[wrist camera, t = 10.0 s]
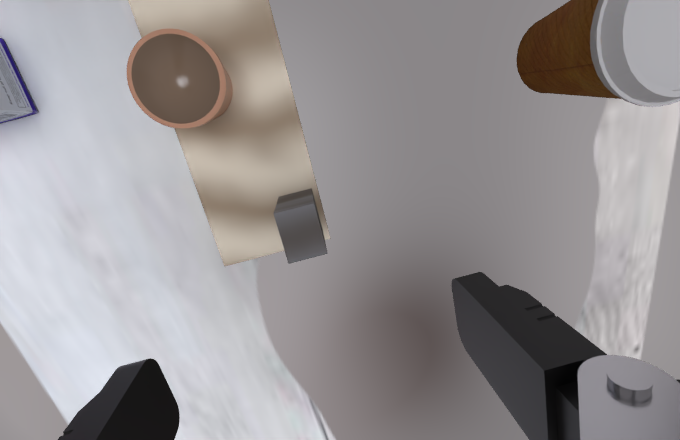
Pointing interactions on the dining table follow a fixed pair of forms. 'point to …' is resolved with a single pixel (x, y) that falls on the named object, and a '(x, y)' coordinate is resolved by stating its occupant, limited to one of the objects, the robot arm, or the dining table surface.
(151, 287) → the dining table surface
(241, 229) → the birch board
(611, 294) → the dining table surface
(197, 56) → the terracotta pot
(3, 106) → the supplement box
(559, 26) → the disposable coffee cup
